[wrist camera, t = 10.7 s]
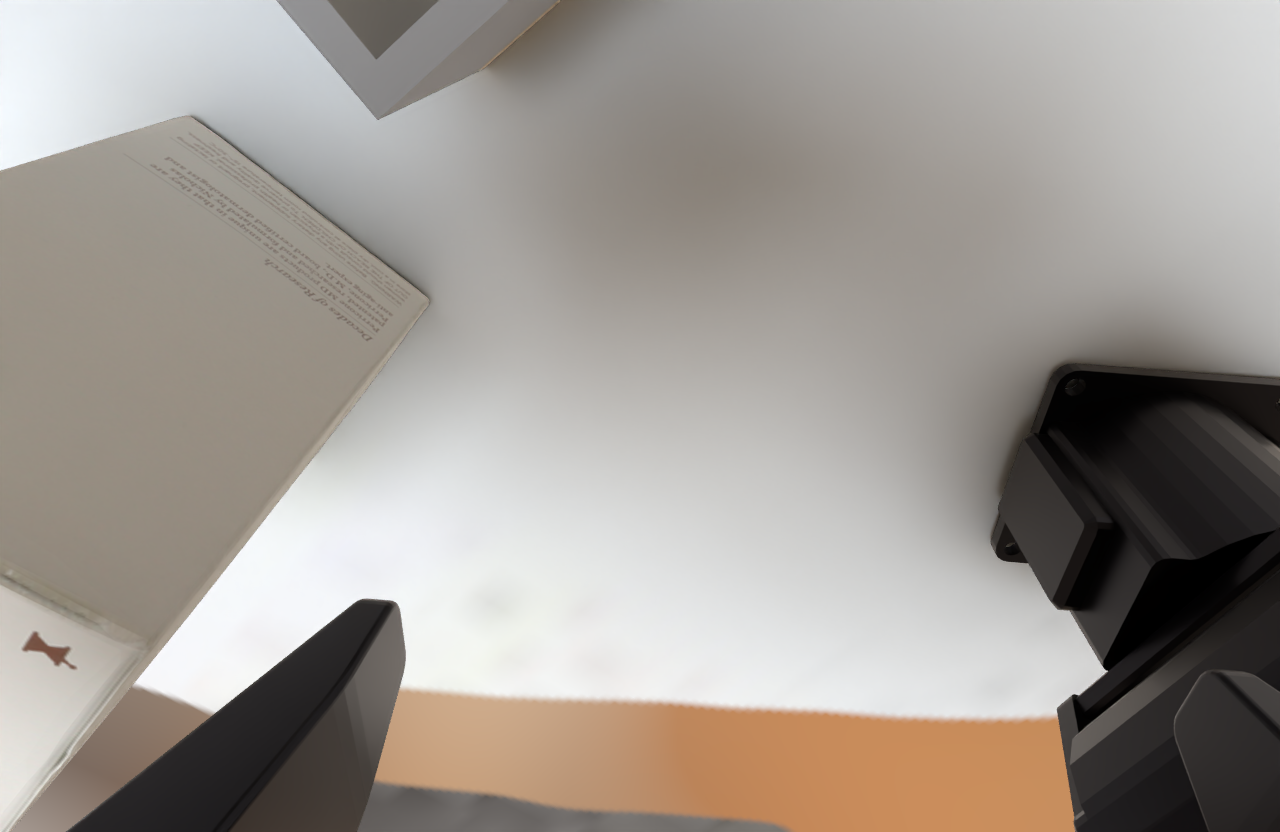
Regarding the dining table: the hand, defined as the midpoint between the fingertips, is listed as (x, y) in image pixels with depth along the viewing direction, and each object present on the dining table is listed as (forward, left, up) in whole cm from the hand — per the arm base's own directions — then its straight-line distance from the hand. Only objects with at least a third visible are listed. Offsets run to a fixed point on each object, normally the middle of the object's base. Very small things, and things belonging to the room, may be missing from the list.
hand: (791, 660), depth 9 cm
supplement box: (+13, +2, -13) cm, 19 cm away
